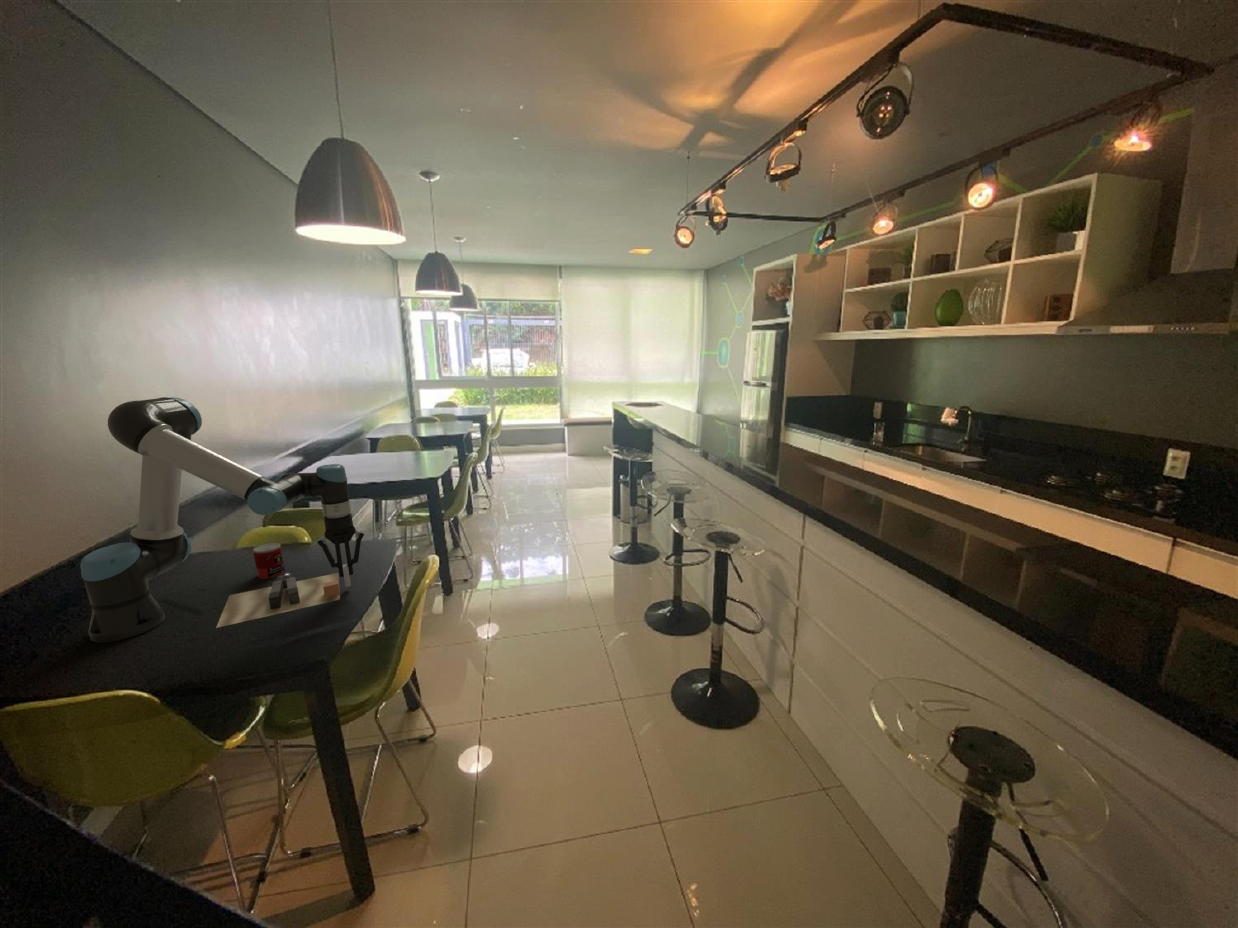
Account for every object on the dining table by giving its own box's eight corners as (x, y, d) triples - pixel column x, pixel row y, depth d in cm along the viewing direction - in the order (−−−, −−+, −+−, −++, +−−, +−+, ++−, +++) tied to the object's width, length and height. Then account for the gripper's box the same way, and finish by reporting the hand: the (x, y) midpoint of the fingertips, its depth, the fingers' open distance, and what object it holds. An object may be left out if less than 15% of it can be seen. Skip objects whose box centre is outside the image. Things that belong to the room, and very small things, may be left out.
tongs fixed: (276, 585, 159) (273, 574, 158) (292, 582, 161) (291, 571, 160) (270, 609, 144) (268, 597, 143) (289, 605, 146) (287, 593, 145)
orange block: (324, 597, 151) (323, 587, 150) (324, 593, 153) (323, 583, 152) (339, 594, 153) (338, 583, 152) (339, 590, 155) (337, 580, 154)
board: (216, 631, 135) (216, 627, 135) (230, 598, 153) (229, 595, 153) (340, 602, 150) (339, 599, 149) (339, 575, 168) (338, 572, 168)
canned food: (272, 582, 164) (266, 552, 161) (252, 580, 166) (246, 550, 163) (291, 572, 171) (286, 543, 169) (272, 571, 173) (266, 542, 170)
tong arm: (287, 588, 157) (286, 578, 156) (297, 586, 158) (295, 576, 157) (290, 604, 146) (288, 594, 146) (300, 602, 148) (298, 591, 147)
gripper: (312, 521, 143) (324, 594, 148) (362, 514, 150) (371, 584, 155) (313, 514, 150) (324, 585, 155) (360, 507, 156) (369, 575, 161)
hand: (348, 584), depth 155 cm, fingers closed
